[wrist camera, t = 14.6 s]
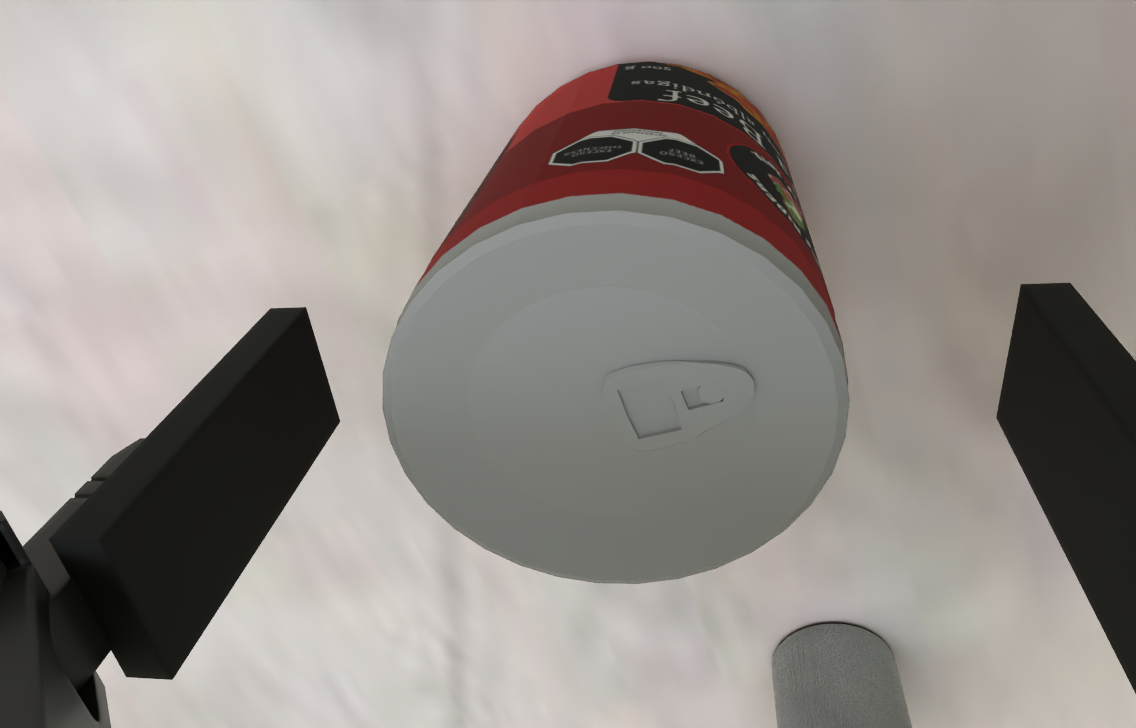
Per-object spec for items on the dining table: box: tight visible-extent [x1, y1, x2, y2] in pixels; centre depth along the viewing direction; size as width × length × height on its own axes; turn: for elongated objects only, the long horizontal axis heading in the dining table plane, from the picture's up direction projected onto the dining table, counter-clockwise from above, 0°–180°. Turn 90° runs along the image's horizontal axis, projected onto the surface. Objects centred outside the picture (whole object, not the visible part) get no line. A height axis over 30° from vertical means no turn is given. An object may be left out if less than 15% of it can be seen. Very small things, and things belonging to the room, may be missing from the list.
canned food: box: [383, 62, 849, 584], centre depth 19 cm, size 8×8×11 cm
